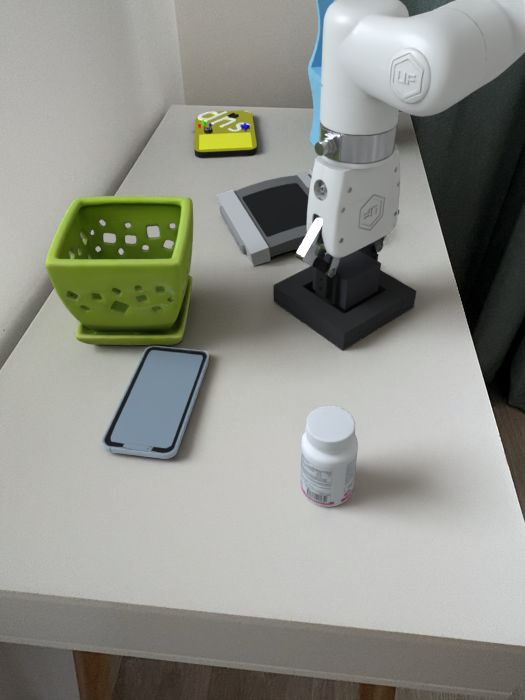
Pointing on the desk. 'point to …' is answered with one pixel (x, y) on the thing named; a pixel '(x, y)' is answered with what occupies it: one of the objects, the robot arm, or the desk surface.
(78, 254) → the flower pot
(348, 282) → the dark grey square block
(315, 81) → the vase
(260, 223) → the alarm clock
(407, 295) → the base pad
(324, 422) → the pill bottle
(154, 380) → the smartphone
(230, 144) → the game console
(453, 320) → the desk surface
